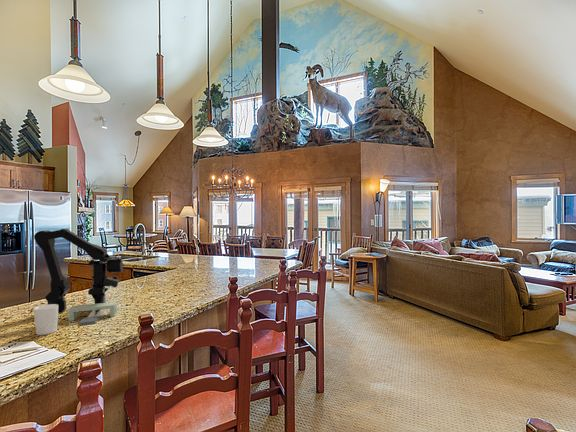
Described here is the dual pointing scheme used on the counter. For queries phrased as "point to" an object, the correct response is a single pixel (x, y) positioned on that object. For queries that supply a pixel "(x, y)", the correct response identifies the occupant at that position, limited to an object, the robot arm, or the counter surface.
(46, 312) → the white cup
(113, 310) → the bracket
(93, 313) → the grey hammer
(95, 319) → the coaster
